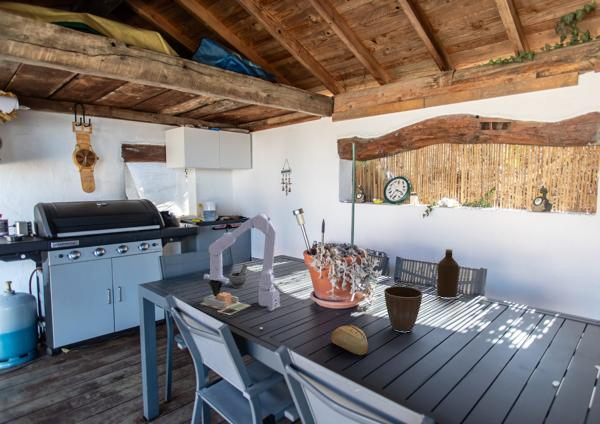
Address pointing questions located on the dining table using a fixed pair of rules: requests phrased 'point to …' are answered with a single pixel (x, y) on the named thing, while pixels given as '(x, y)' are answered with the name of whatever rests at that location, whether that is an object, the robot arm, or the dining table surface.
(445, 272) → the olive oil
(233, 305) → the birch deck
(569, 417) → the dining table surface
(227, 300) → the terracotta block
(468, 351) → the dining table surface
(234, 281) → the mortar and pestle
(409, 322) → the plant pot
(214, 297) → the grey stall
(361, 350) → the bread roll
